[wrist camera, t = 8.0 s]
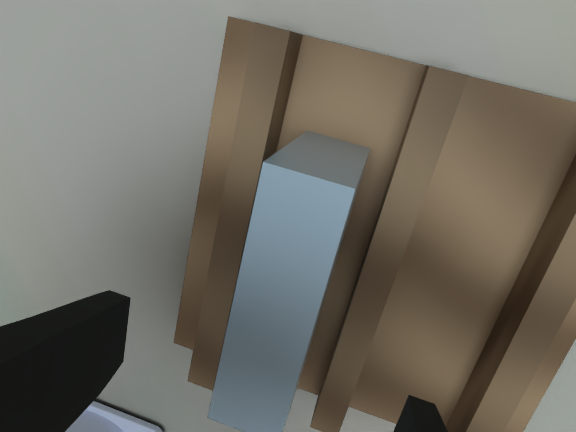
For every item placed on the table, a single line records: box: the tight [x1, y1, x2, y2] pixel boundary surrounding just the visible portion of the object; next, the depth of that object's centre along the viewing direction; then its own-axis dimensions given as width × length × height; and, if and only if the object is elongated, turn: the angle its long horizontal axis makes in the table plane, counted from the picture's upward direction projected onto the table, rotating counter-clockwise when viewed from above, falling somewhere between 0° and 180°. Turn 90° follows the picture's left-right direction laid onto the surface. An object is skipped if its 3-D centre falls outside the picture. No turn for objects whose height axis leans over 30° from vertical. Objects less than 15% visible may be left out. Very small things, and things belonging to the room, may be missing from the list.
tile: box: [207, 131, 371, 432], centre depth 16 cm, size 9×2×6 cm, turn 167°
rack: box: [174, 16, 576, 432], centre depth 18 cm, size 15×16×3 cm
